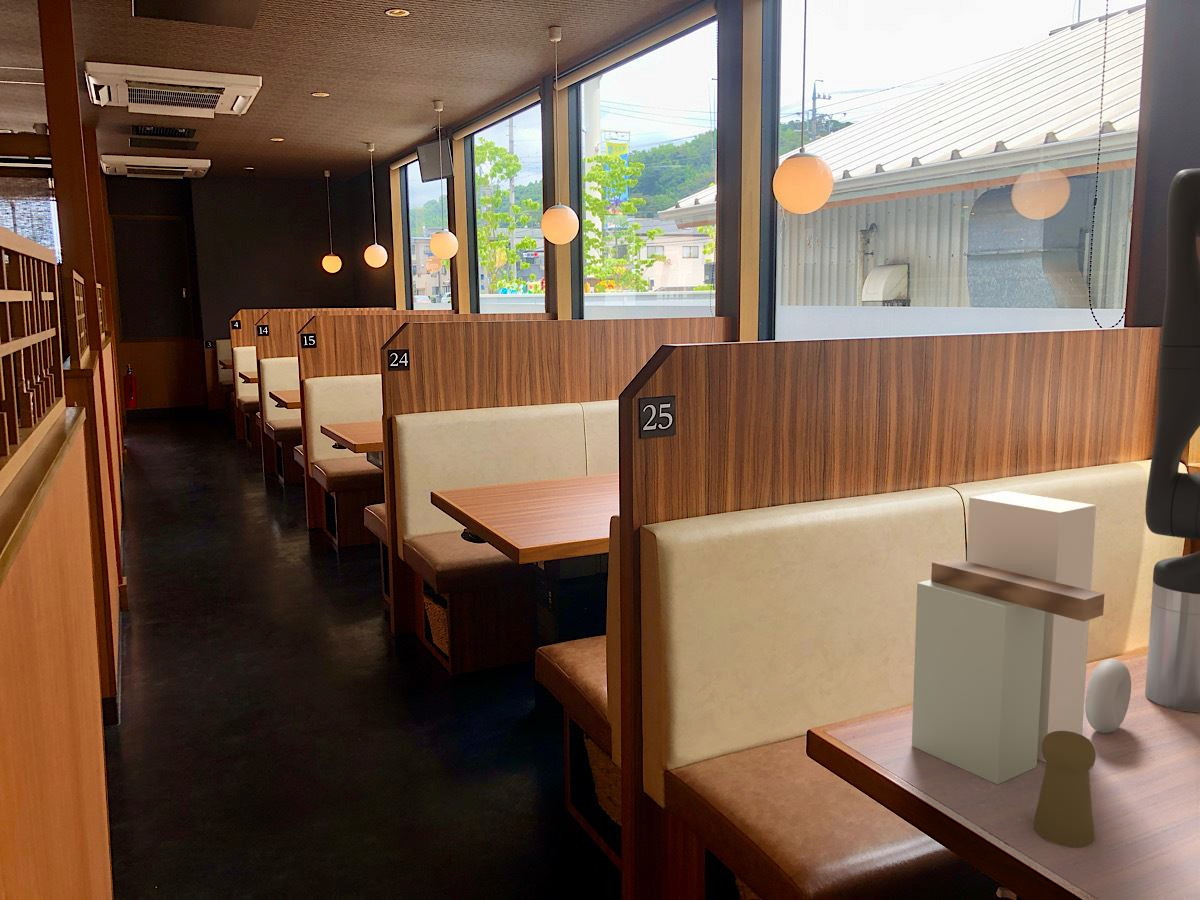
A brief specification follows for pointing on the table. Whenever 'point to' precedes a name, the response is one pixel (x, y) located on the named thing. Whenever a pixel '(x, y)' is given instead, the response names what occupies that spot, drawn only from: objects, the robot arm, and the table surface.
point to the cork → (1066, 790)
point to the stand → (1004, 641)
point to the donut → (1108, 695)
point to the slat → (1019, 589)
